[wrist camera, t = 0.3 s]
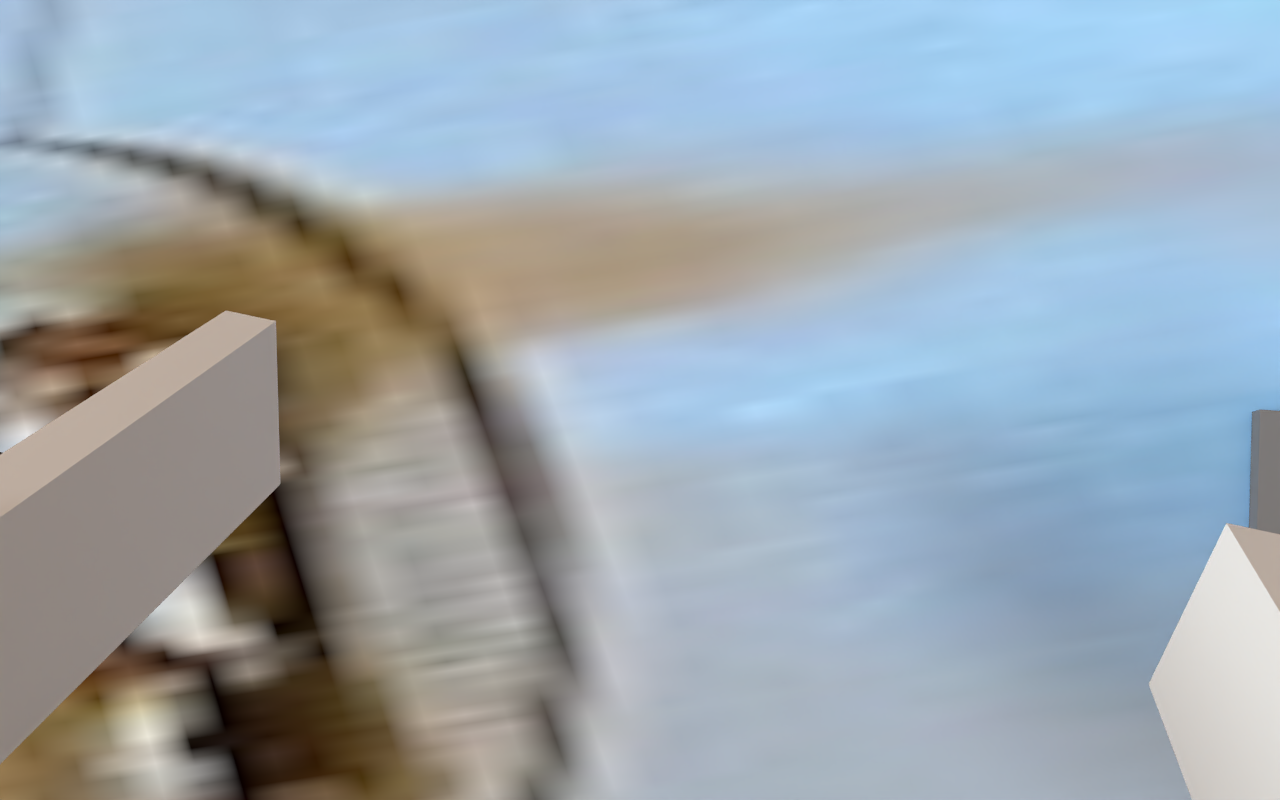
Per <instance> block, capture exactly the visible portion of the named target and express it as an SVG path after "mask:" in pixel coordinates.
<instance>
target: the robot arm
mask: <svg viewBox="0 0 1280 800" xmlns="http://www.w3.org/2000/svg"><path fill="white" fill-rule="evenodd" d="M279 485H280V453H279V417H278V382H277V347H276V321H272V320H268V319H263V318H258V317H254V316H249V315H244V314H239V313H235V312H230V311H225V312H223V313H221V314H220V315H218V316H217V317H215V318H214V319H212V320H211V321H209V322H207V323H206V324H204V325H203V326H201V327H200V328H198V329H196V330H195V331H193V332H192V333H190V334H189V335H187V336H185V337H184V338H182V339H181V340H179V341H178V342H176V343H175V344H173V345H171V346H170V347H168V348H167V349H165V350H164V351H162V352H160V353H159V354H157V355H156V356H154V357H153V358H151V359H149V360H148V361H146V362H145V363H143V364H142V365H140V366H139V367H137V368H135V369H134V370H132V371H131V372H129V373H128V374H126V375H124V376H123V377H121V378H120V379H118V380H117V381H115V382H113V383H112V384H110V385H109V386H107V387H106V388H104V389H102V390H101V391H99V392H98V393H96V394H95V395H93V396H92V397H90V398H88V399H87V400H85V401H84V402H82V403H81V404H79V405H77V406H76V407H74V408H73V409H71V410H70V411H68V412H66V413H65V414H63V415H62V416H60V417H59V418H57V419H56V420H54V421H52V422H51V423H49V424H48V425H46V426H45V427H43V428H41V429H40V430H38V431H37V432H35V433H34V434H32V435H30V436H29V437H27V438H26V439H24V440H23V441H21V442H20V443H18V444H16V445H15V446H13V447H12V448H10V449H9V450H7V451H5V452H4V453H1V452H0V764H1V763H2V762H3V761H4V760H5V759H6V758H7V757H8V756H9V755H10V754H11V753H12V752H13V751H14V750H15V749H16V748H17V747H18V746H19V745H20V744H21V743H22V742H23V741H24V740H25V739H26V738H27V737H28V736H29V735H30V734H31V733H32V732H33V731H34V730H35V729H36V728H37V727H38V726H39V725H40V724H41V723H42V722H43V721H44V720H45V719H46V718H47V717H48V716H49V715H50V714H51V713H52V712H53V711H54V710H55V709H56V708H57V707H58V706H59V705H60V704H61V703H62V702H63V701H64V700H65V699H66V698H67V697H68V696H69V695H70V694H71V693H72V692H73V691H74V690H75V689H76V688H77V687H78V686H79V685H80V684H81V683H82V682H83V681H84V680H85V679H86V678H87V677H88V676H89V675H90V674H91V673H92V672H93V671H94V670H95V669H96V668H97V667H98V666H99V665H100V664H101V663H102V662H103V661H104V660H105V659H106V658H107V657H108V656H109V655H110V654H111V653H112V652H113V651H114V650H115V649H116V648H117V647H118V646H119V645H120V644H121V643H122V642H123V641H124V640H125V639H126V638H127V637H128V636H129V635H130V634H131V633H132V632H133V631H134V630H135V629H136V628H137V627H138V626H139V625H140V624H141V623H142V622H143V621H144V620H145V619H146V618H147V617H148V616H149V615H150V614H151V613H152V612H153V611H154V610H155V609H156V608H157V607H158V606H159V605H160V604H161V603H162V602H163V601H164V600H165V599H166V598H167V597H168V596H169V595H170V594H171V593H172V592H173V591H174V590H175V589H176V588H177V587H178V586H179V585H180V584H181V583H182V582H183V581H184V580H185V579H186V578H187V577H188V576H189V575H190V574H191V573H192V572H193V571H194V570H195V569H196V568H197V567H198V566H199V565H200V564H201V563H202V562H203V561H204V560H205V559H206V558H207V557H208V556H209V555H210V554H211V553H212V552H213V551H214V550H215V549H216V548H217V547H218V546H219V545H220V544H221V543H222V542H223V541H224V540H225V539H226V538H227V537H228V536H229V535H230V534H231V533H232V532H233V531H234V530H235V529H236V528H237V527H238V526H239V525H240V524H241V523H242V522H243V521H244V520H245V519H246V518H247V517H248V516H249V515H250V514H251V513H252V512H253V511H254V510H255V509H256V508H257V507H258V506H259V505H260V504H261V503H262V502H263V501H264V500H265V499H266V498H267V497H268V496H269V495H270V494H271V493H272V492H273V491H274V490H275V489H276V488H277V487H278V486H279ZM1149 686H1150V689H1151V692H1152V694H1153V697H1154V700H1155V702H1156V705H1157V708H1158V710H1159V713H1160V716H1161V718H1162V721H1163V724H1164V726H1165V729H1166V732H1167V734H1168V737H1169V740H1170V742H1171V745H1172V748H1173V750H1174V753H1175V756H1176V758H1177V761H1178V764H1179V766H1180V769H1181V771H1182V774H1183V777H1184V779H1185V782H1186V785H1187V787H1188V790H1189V793H1190V795H1191V798H1192V800H1280V534H1276V533H1271V532H1266V531H1261V530H1257V529H1252V528H1247V527H1243V526H1238V525H1233V524H1228V523H1226V525H1225V527H1224V529H1223V531H1222V533H1221V535H1220V538H1219V540H1218V542H1217V544H1216V546H1215V548H1214V550H1213V552H1212V554H1211V556H1210V558H1209V560H1208V562H1207V564H1206V566H1205V569H1204V571H1203V573H1202V575H1201V577H1200V579H1199V581H1198V583H1197V585H1196V587H1195V589H1194V591H1193V593H1192V595H1191V598H1190V600H1189V602H1188V604H1187V606H1186V608H1185V610H1184V612H1183V614H1182V616H1181V618H1180V620H1179V622H1178V624H1177V626H1176V629H1175V631H1174V633H1173V635H1172V637H1171V639H1170V641H1169V643H1168V645H1167V647H1166V649H1165V651H1164V653H1163V655H1162V658H1161V660H1160V662H1159V664H1158V666H1157V668H1156V670H1155V672H1154V674H1153V676H1152V678H1151V680H1150V682H1149Z"/></svg>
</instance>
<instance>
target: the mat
mask: <svg viewBox="0 0 1280 800" xmlns="http://www.w3.org/2000/svg"><path fill="white" fill-rule="evenodd" d="M1249 528H1252V529H1257V530H1261V531H1266V532H1271V533H1276V534H1280V411H1271V410H1257V411H1254V412H1252V437H1251V474H1250V511H1249Z"/></svg>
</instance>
